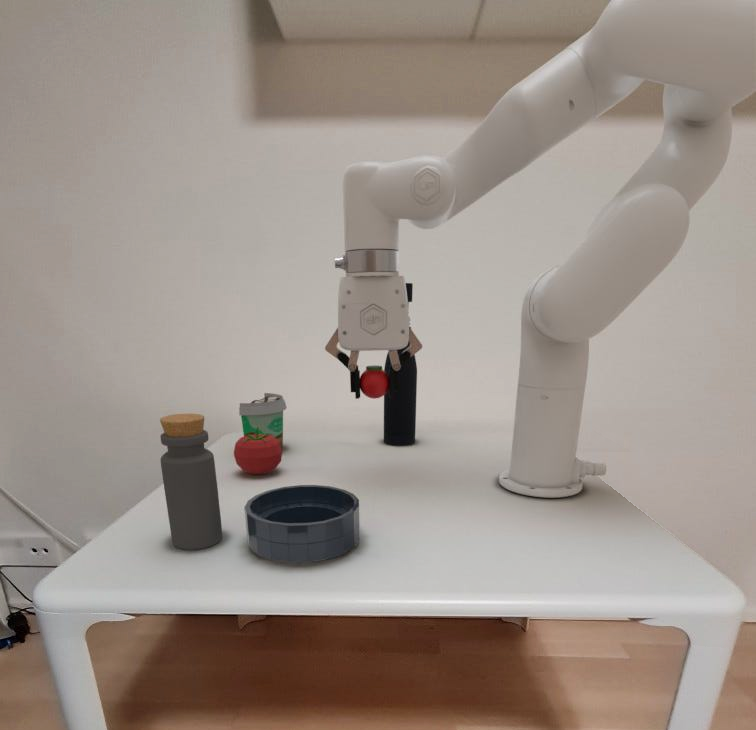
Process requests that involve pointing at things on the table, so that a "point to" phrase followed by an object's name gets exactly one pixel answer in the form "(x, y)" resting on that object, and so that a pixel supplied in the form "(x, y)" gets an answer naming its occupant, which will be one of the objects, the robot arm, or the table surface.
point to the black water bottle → (401, 399)
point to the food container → (264, 416)
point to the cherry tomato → (374, 382)
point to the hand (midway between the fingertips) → (374, 395)
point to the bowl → (302, 523)
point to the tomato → (258, 453)
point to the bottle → (190, 483)
